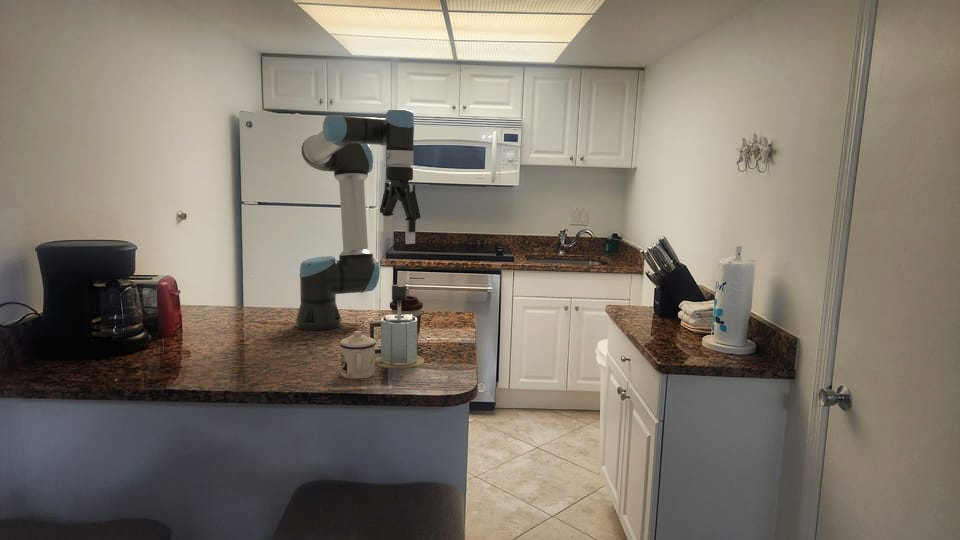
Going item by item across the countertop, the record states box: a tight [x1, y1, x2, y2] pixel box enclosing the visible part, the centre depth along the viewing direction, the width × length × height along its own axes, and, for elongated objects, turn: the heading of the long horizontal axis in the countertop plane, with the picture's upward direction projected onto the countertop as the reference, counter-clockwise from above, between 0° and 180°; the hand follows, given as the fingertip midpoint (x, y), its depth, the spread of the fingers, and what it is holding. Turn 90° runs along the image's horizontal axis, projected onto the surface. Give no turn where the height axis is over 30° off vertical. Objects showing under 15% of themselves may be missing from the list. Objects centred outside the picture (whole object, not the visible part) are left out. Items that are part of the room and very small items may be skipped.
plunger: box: [391, 284, 408, 323], centre depth 166 cm, size 8×8×19 cm
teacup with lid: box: [339, 330, 377, 379], centre depth 155 cm, size 12×9×12 cm
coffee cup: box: [389, 295, 424, 346], centre depth 184 cm, size 10×10×15 cm
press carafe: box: [369, 314, 418, 366], centre depth 167 cm, size 10×13×12 cm
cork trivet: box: [375, 354, 425, 369], centre depth 168 cm, size 14×14×1 cm
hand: (398, 240), depth 174 cm, fingers open, 13 cm apart
